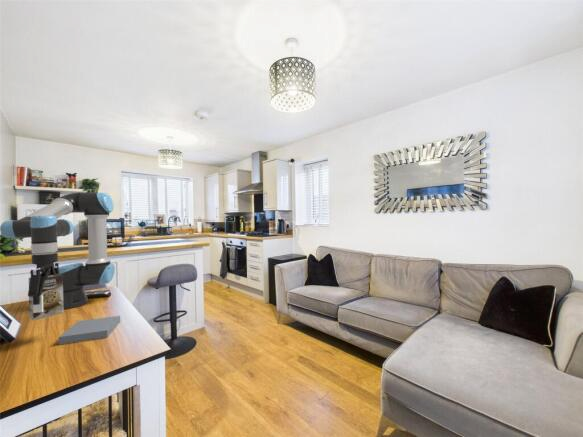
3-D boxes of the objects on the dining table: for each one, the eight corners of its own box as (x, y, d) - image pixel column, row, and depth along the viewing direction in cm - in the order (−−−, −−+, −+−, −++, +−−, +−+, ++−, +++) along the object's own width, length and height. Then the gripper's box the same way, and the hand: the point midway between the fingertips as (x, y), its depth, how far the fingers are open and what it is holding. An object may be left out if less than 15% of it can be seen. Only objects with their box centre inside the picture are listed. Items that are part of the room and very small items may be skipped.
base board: (78, 327, 111) (78, 320, 111) (120, 321, 116) (120, 315, 116) (58, 344, 96) (58, 337, 96) (107, 337, 101) (107, 330, 101)
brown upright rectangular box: (33, 321, 95) (31, 280, 94) (28, 317, 98) (27, 277, 98) (64, 312, 103) (63, 274, 102) (59, 309, 106) (57, 272, 106)
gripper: (49, 249, 109) (51, 299, 110) (11, 258, 88) (14, 319, 88) (70, 248, 112) (72, 296, 112) (38, 257, 90) (41, 316, 91)
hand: (46, 307), depth 100 cm, fingers closed on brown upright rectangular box, 10 cm apart
